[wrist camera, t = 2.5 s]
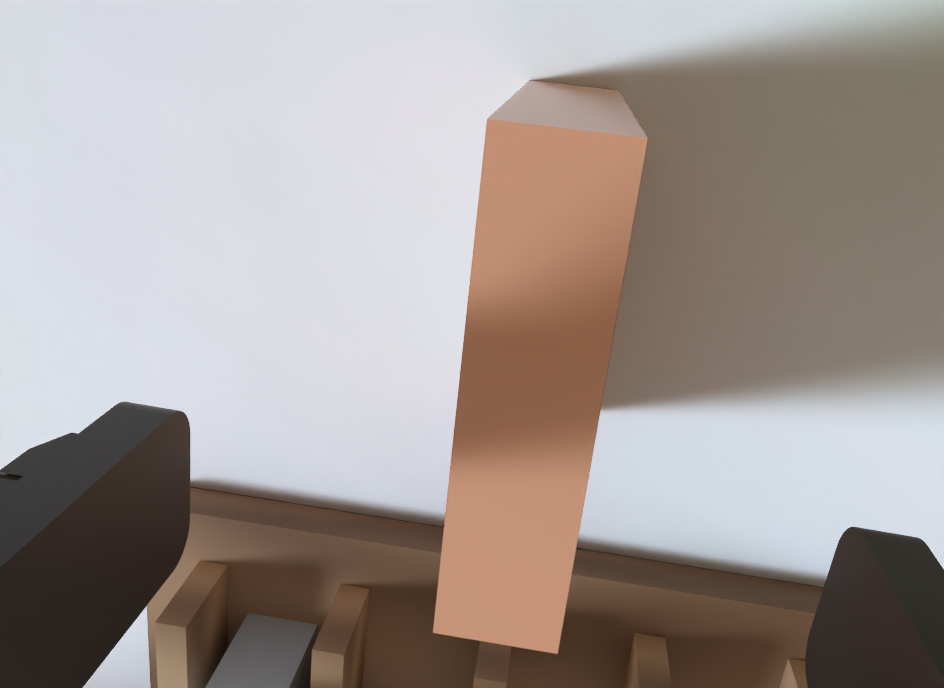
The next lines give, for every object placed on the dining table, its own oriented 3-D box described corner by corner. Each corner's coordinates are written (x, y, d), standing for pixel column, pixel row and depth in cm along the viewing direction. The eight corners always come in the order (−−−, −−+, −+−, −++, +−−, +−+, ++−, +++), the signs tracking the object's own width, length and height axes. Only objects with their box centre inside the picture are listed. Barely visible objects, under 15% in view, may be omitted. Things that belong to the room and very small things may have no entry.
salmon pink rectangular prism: (530, 80, 19) (487, 118, 10) (618, 90, 19) (647, 137, 10) (490, 400, 22) (433, 632, 13) (567, 412, 22) (557, 654, 13)
